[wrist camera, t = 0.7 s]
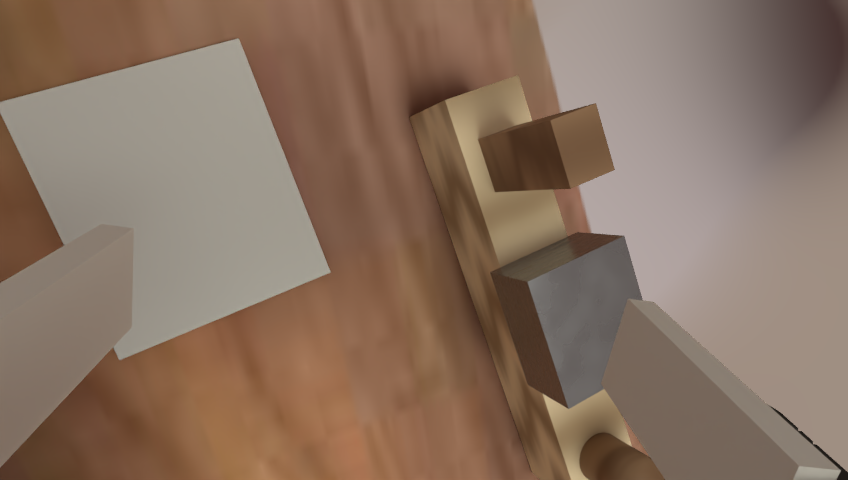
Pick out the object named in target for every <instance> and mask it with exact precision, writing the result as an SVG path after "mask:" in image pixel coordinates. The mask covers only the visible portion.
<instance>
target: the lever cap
mask: <svg viewBox="0 0 848 480" xmlns="http://www.w3.org/2000/svg"><path fill="white" fill-rule="evenodd" d="M490 274H491V277H492V280H493V283H494V286H495V289H496V292H497V295H498V298H499V301H500V304H501V307H502V310H503V313H504V316H505V319H506V322H507V325H508V328H509V331H510V334H511V337H512V340H513V343H514V346H515V349H516V352H517V354H518V357H519V360H520V363H521V366H522V369H523V372H524V375H525V378H526V381H527V384H528V385H529V386H531V387H532V388H534V389H536V390H537V391H539V392H541V393H542V394H544V395H546V396H547V397H549V398H551V399H552V400H554V401H556V402H558V403H559V404H561V405H563V406H564V407H566V408H568V409H570V408H572V407H573V406H575V405H577V404H579V403H580V402H582V401H584V400H586V399H587V398H589V397H591V396H593V395H594V394H596V393H598V392H600V391H601V390H603V389H604V388H603V386H602V385H601V382H602V379H603V376H604V373H605V370H606V367H607V363H608V360H609V357H610V354H611V351H612V347H613V344H614V341H615V338H616V335H617V332H618V328H619V325H620V322H621V319H622V316H623V313H624V309H625V306H626V303H627V300H628V298H629V299H636V300H642V296H641V293H640V289H639V286H638V282H637V279H636V275H635V272H634V269H633V265H632V261H631V258H630V255H629V251H628V248H627V244H626V241H625V237H624V236H619V235H605V234H593V233H580V232H577V233H575V234H573V235H570V236H568V237H566V238H564V239H562V240H559V241H557V242H555V243H553V244H551V245H548V246H546V247H544V248H542V249H540V250H538V251H535V252H533V253H531V254H529V255H527V256H524V257H522V258H520V259H518V260H516V261H514V262H511V263H509V264H507V265H505V266H503V267H500V268H498V269H496V270H494V271H492V272H490Z"/></svg>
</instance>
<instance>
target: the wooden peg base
mask: <svg viewBox="0 0 848 480" xmlns="http://www.w3.org/2000/svg"><path fill="white" fill-rule="evenodd" d="M409 119H410V122H411V125H412V128H413V131H414V133H415V136H416V139H417V142H418V145H419V148H420V151H421V154H422V157H423V159H424V162H425V165H426V168H427V171H428V174H429V177H430V180H431V182H432V185H433V188H434V191H435V194H436V197H437V200H438V203H439V206H440V208H441V211H442V214H443V217H444V220H445V223H446V226H447V229H448V232H449V234H450V237H451V240H452V243H453V246H454V249H455V252H456V255H457V257H458V260H459V263H460V266H461V269H462V272H463V275H464V278H465V281H466V283H467V286H468V289H469V292H470V295H471V298H472V301H473V304H474V307H475V309H476V312H477V315H478V318H479V321H480V324H481V327H482V330H483V333H484V335H485V338H486V341H487V344H488V347H489V350H490V353H491V356H492V358H493V361H494V364H495V367H496V370H497V373H498V376H499V379H500V382H501V384H502V387H503V390H504V393H505V396H506V399H507V402H508V405H509V408H510V410H511V413H512V416H513V419H514V422H515V425H516V428H517V431H518V433H519V436H520V439H521V442H522V445H523V448H524V451H525V454H526V457H527V459H528V462H529V465H530V468H531V471H532V473H533V474H534V475H535V476H536V477H538V478H539V479H540V480H665V479H664V477H663V476H662V474H661V473H660V471H659V470H658V468H657V467H656V465H655V464H654V462H653V461H652V459H651V458H650V457H648V456H647V455H645V454H643V453H642V452H640V451H638V450H636V449H635V448H633V447H632V446H631V442H630V439H629V436H628V432H627V429H626V426H625V423H624V419H623V416H622V414H621V413H620V411H619V410H618V408H617V407H616V405H615V404H614V402H613V401H612V400H611V398H610V397H609V395H608V394H607V392H606V391H605V389H603V390H601V391H600V392H598V393H596V394H594V395H593V396H591V397H589V398H587V399H586V400H584V401H582V402H580V403H579V404H577V405H575V406H573V407H572V408H570V409H568V408H566V407H564V406H563V405H561V404H559V403H558V402H556V401H554V400H552V399H551V398H549V397H547V396H546V395H544V394H542V393H541V392H539V391H537V390H536V389H534V388H532V387H531V386H529V385H528V384H527V381H526V378H525V375H524V372H523V369H522V366H521V363H520V360H519V357H518V354H517V352H516V349H515V346H514V343H513V340H512V337H511V334H510V331H509V328H508V325H507V322H506V319H505V316H504V313H503V310H502V307H501V304H500V301H499V298H498V295H497V292H496V289H495V286H494V283H493V280H492V277H491V274H490V272H492V271H494V270H496V269H498V268H500V267H503V266H505V265H507V264H509V263H511V262H514V261H516V260H518V259H520V258H522V257H524V256H527V255H529V254H531V253H533V252H535V251H538V250H540V249H542V248H544V247H546V246H548V245H551V244H553V243H555V242H557V241H559V240H562V239H564V238H566V237H568V236H567V233H566V230H565V227H564V223H563V220H562V217H561V213H560V210H559V207H558V204H557V200H556V197H555V194H554V191H553V189H571V188H573V187H575V186H578V185H580V184H582V183H585V182H587V181H590V180H592V179H594V178H597V177H599V176H601V175H603V174H606V173H608V172H610V171H613V170H615V169H614V166H613V162H612V159H611V155H610V152H609V148H608V144H607V141H606V137H605V134H604V131H603V127H602V123H601V120H600V116H599V113H598V109H597V106H596V104H592V105H588V106H584V107H581V108H577V109H574V110H570V111H566V112H563V113H559V114H555V115H552V116H548V117H544V118H541V119H537V120H534V121H532V119H531V115H530V112H529V109H528V106H527V102H526V99H525V96H524V93H523V89H522V86H521V83H520V79H519V76H518V75H517V76H514V77H511V78H509V79H506V80H503V81H500V82H497V83H494V84H491V85H488V86H485V87H482V88H479V89H476V90H473V91H470V92H467V93H464V94H461V95H458V96H455V97H452V98H450V99H447V100H444V101H442V102H440V103H438V104H436V105H434V106H432V107H429V108H427V109H425V110H423V111H421V112H419V113H417V114H415V115H413V116H411V117H409Z"/></svg>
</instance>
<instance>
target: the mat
mask: <svg viewBox="0 0 848 480" xmlns="http://www.w3.org/2000/svg"><path fill="white" fill-rule="evenodd" d="M0 113H1V116H2V118H3V120H4V122H5V124H6V126H7V128H8V130H9V132H10V134H11V136H12V138H13V140H14V142H15V145H16V147H17V149H18V151H19V153H20V155H21V157H22V159H23V161H24V163H25V165H26V167H27V169H28V172H29V174H30V176H31V178H32V180H33V182H34V184H35V186H36V188H37V190H38V192H39V194H40V196H41V199H42V201H43V203H44V205H45V207H46V209H47V211H48V213H49V215H50V217H51V219H52V221H53V223H54V225H55V228H56V230H57V232H58V234H59V236H60V238H61V240H62V242H63V244H64V245H66V244H68V243H69V242H71V241H73V240H75V239H76V238H78V237H80V236H81V235H83V234H85V233H87V232H88V231H90V230H92V229H93V228H95V227H97V226H98V225H100V224H106V225H113V226H120V227H127V228H134V242H133V291H132V327H131V329H130V330H129V331H128V332H127V333H126V334H125V335H124V336H123V337H122V338H121V339H120V340H119V341H118V342H117V343H116V345H115V346H114V347H113V348H114V350H115V352H116V354H117V356H118V358H119V360H121V359H124V358H126V357H129V356H131V355H133V354H136V353H138V352H141V351H143V350H145V349H148V348H150V347H153V346H155V345H157V344H160V343H162V342H165V341H167V340H169V339H172V338H174V337H177V336H179V335H181V334H184V333H186V332H189V331H191V330H193V329H196V328H198V327H201V326H203V325H205V324H208V323H210V322H213V321H215V320H218V319H220V318H222V317H225V316H227V315H230V314H232V313H234V312H237V311H239V310H242V309H244V308H246V307H249V306H251V305H254V304H256V303H258V302H261V301H263V300H266V299H268V298H270V297H273V296H275V295H278V294H280V293H282V292H285V291H287V290H290V289H292V288H294V287H297V286H299V285H302V284H304V283H306V282H309V281H311V280H314V279H316V278H319V277H321V276H323V275H326V274H328V273H331V272H330V269H329V267H328V264H327V262H326V259H325V257H324V254H323V252H322V249H321V246H320V244H319V241H318V239H317V236H316V234H315V231H314V229H313V226H312V224H311V221H310V218H309V216H308V213H307V211H306V208H305V206H304V203H303V201H302V198H301V196H300V193H299V190H298V188H297V185H296V183H295V180H294V178H293V175H292V173H291V170H290V168H289V165H288V162H287V160H286V157H285V155H284V152H283V150H282V147H281V145H280V142H279V140H278V137H277V134H276V132H275V129H274V127H273V124H272V122H271V119H270V117H269V114H268V112H267V109H266V106H265V104H264V101H263V99H262V96H261V94H260V91H259V89H258V86H257V84H256V81H255V78H254V76H253V73H252V71H251V68H250V66H249V63H248V61H247V58H246V56H245V53H244V50H243V48H242V45H241V43H240V40H239V38H238V39H234V40H230V41H226V42H223V43H219V44H215V45H212V46H208V47H204V48H200V49H197V50H193V51H189V52H185V53H182V54H178V55H174V56H170V57H167V58H163V59H159V60H155V61H152V62H148V63H144V64H140V65H137V66H133V67H129V68H126V69H122V70H118V71H114V72H111V73H107V74H103V75H99V76H96V77H92V78H88V79H84V80H81V81H77V82H73V83H69V84H66V85H62V86H58V87H54V88H51V89H47V90H43V91H39V92H36V93H32V94H28V95H25V96H21V97H17V98H13V99H10V100H6V101H2V102H0Z"/></svg>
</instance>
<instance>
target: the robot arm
mask: <svg viewBox="0 0 848 480" xmlns="http://www.w3.org/2000/svg"><path fill="white" fill-rule="evenodd" d="M133 242H134V228H127V227H120V226H113V225H106V224H100V225H98V226H97V227H95V228H93V229H92V230H90V231H88V232H87V233H85V234H83V235H81V236H80V237H78V238H76V239H75V240H73V241H71V242H69V243H68V244H66V245H64V246H63V247H61V248H59V249H58V250H56V251H54V252H52V253H51V254H49V255H47V256H46V257H44V258H42V259H40V260H39V261H37V262H35V263H34V264H32V265H30V266H28V267H27V268H25V269H23V270H22V271H20V272H18V273H17V274H15V275H13V276H11V277H10V278H8V279H6V280H5V281H3V282H1V283H0V467H1V466H2V465H3V464H4V463H5V462H6V461H7V460H8V459H9V458H10V457H11V456H12V455H13V453H14V452H15V451H16V450H17V449H18V448H19V447H20V446H21V445H22V444H23V443H24V442H25V441H26V440H27V439H28V437H29V436H30V435H31V434H32V433H33V432H34V431H35V430H36V429H37V428H38V427H39V426H40V425H41V424H42V422H43V421H44V420H45V419H46V418H47V417H48V416H49V415H50V414H51V413H52V412H53V411H54V410H55V409H56V408H57V406H58V405H59V404H60V403H61V402H62V401H63V400H64V399H65V398H66V397H67V396H68V395H69V394H70V393H71V392H72V390H73V389H74V388H75V387H76V386H77V385H78V384H79V383H80V382H81V381H82V380H83V379H84V378H85V377H86V376H87V374H88V373H89V372H90V371H91V370H92V369H93V368H94V367H95V366H96V365H97V364H98V363H99V362H100V361H101V359H102V358H103V357H104V356H105V355H106V354H107V353H108V352H109V351H110V350H111V349H112V348H113V347H114V346H115V345H116V343H117V342H118V341H119V340H120V339H121V338H122V337H123V336H124V335H125V334H126V333H127V332H128V331H129V330H130V329H131V327H132V291H133ZM601 385H602V386H603V388H604V389H605V391H606V392H607V394H608V395H609V397H610V398H611V400H612V401H613V402H614V404H615V405H616V407H617V408H618V410H619V411H620V413H621V414H622V416H623V417H624V419H625V420H626V422H627V423H628V425H629V426H630V428H631V429H632V431H633V432H634V434H635V435H636V437H637V438H638V440H639V441H640V443H641V444H642V446H643V447H644V449H645V450H646V452H647V453H648V455H649V456H650V458H651V459H652V461H653V462H654V464H655V465H656V467H657V468H658V470H659V471H660V473H661V474H662V476H663V477H664V479H665V480H848V472H847V471H845V470H844V469H843V468H842V467H841V466H840V465H839V464H838V463H837V462H835V461H834V460H833V459H832V458H831V457H829V455H828V454H826V453H825V452H824V451H823V450H822V449H821V448H820V447H819V446H817V445H815V444H813V441H812V440H811V439H810V438H808V437H807V436H806V435H805V434H804V433H803V432H802V431H798V428H797V427H796V426H795V425H794V424H793V423H792V422H790V421H789V420H788V419H787V418H786V417H785V416H784V415H783V414H781V413H780V412H779V411H777V410H776V409H774V408H773V407H771V406H769V405H768V404H766V403H765V402H764V401H763V400H762V399H761V398H760V397H759V396H758V395H756V394H755V393H754V392H753V391H752V390H751V389H749V388H748V386H746V385H745V384H744V383H743V382H742V381H741V380H740V379H738V378H737V377H736V376H735V375H734V374H733V373H732V372H731V371H730V370H728V368H726V367H725V366H724V365H723V364H722V363H721V362H720V361H719V360H717V359H716V358H715V357H714V356H713V355H712V354H711V353H709V351H707V350H706V349H705V348H704V347H703V346H702V345H701V344H700V343H699V342H697V341H696V340H695V339H694V338H693V337H692V336H691V335H690V334H689V333H687V332H686V331H685V330H684V329H683V328H682V327H681V326H680V325H679V324H677V323H676V322H675V321H674V320H673V319H672V318H671V317H670V316H669V315H667V314H666V313H665V312H664V311H663V310H662V309H661V308H660V307H659V306H657V305H656V304H655V303H654V302H650V301H643V300H636V299H629V298H628V300H627V303H626V306H625V309H624V313H623V316H622V319H621V322H620V325H619V328H618V332H617V335H616V338H615V341H614V344H613V347H612V351H611V354H610V357H609V360H608V363H607V367H606V370H605V373H604V376H603V379H602V382H601Z"/></svg>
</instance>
